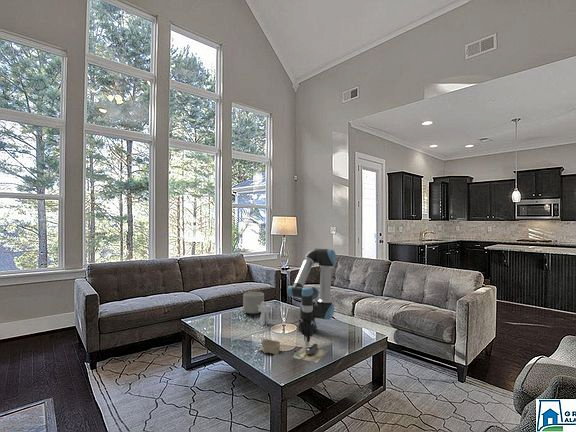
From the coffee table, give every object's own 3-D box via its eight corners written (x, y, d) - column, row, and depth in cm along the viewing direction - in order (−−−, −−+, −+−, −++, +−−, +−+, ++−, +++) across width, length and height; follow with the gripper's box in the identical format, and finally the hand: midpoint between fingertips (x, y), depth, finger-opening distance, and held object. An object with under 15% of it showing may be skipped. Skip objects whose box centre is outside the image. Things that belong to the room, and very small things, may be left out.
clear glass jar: (269, 326, 262) (270, 304, 262) (255, 324, 266) (255, 302, 267) (275, 322, 273) (275, 300, 274) (260, 320, 278) (260, 299, 278)
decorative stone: (260, 349, 216) (260, 337, 216) (281, 351, 213) (281, 338, 214) (256, 354, 208) (257, 341, 208) (278, 356, 205) (278, 343, 205)
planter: (243, 310, 306) (243, 291, 306) (263, 310, 308) (263, 291, 308) (242, 316, 287) (243, 296, 287) (264, 316, 289) (264, 296, 289)
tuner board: (290, 358, 202) (290, 356, 202) (302, 347, 218) (302, 345, 219) (317, 364, 193) (317, 362, 193) (327, 353, 210) (327, 350, 210)
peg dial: (308, 360, 196) (308, 355, 196) (299, 358, 199) (299, 353, 199) (320, 348, 213) (320, 344, 213) (311, 347, 216) (312, 342, 216)
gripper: (296, 310, 218) (296, 344, 217) (311, 314, 209) (311, 350, 209) (303, 307, 223) (303, 341, 223) (318, 311, 215) (318, 346, 214)
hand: (307, 345), depth 216 cm, fingers closed
